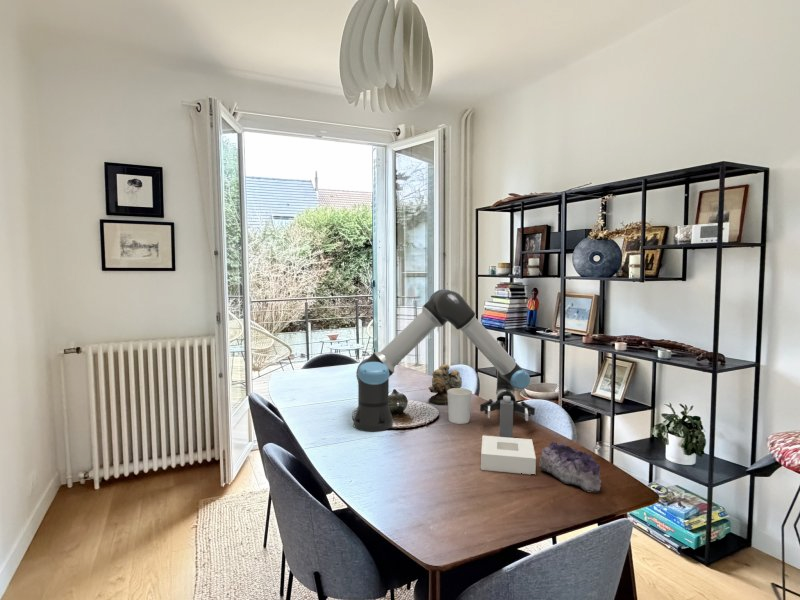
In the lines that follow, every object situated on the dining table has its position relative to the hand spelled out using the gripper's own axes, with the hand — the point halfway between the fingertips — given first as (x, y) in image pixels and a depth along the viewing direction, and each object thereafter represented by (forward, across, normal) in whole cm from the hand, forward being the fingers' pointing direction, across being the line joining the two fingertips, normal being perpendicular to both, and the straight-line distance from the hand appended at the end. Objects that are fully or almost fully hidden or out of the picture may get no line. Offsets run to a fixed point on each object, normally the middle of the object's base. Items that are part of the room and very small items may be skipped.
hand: (507, 415), depth 174 cm
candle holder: (-13, +18, -8) cm, 24 cm away
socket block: (+24, +1, -7) cm, 25 cm away
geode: (+32, -18, -8) cm, 37 cm away
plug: (+2, +1, -7) cm, 8 cm away
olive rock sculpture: (-39, +26, -8) cm, 48 cm away
